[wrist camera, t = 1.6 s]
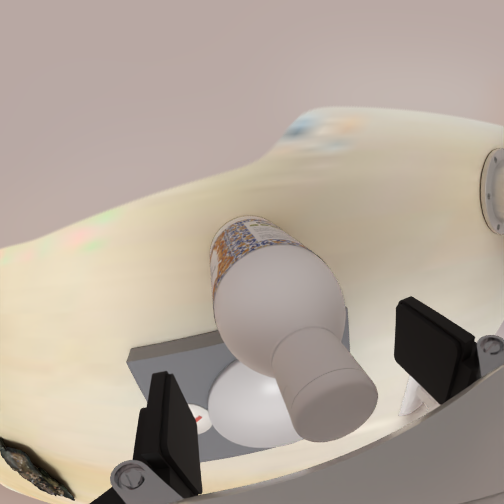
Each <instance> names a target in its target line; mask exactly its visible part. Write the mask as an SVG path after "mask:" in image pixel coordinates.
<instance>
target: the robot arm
mask: <svg viewBox="0 0 504 504" xmlns="http://www.w3.org/2000/svg"><path fill="white" fill-rule="evenodd" d="M481 203H482V209H483V214H484V217H485V220H486V222H487V224H488V226H489V228H490V229H491V230H492V231H494V232H495V233H499V234H504V149H503V148H498V149H495V150H493V151H492V152H491V153H490V154H489V156H488V158H487V160H486V162H485V165H484V168H483V172H482V179H481ZM474 339H475V336H473V335H472V334H470V333H469V332H467V331H466V330H464V329H463V328H461V327H460V326H458V325H457V324H455V323H453V322H452V321H450V320H449V319H447V318H446V317H444V316H443V315H441V314H439V313H438V312H436V311H435V310H433V309H431V308H430V307H428V306H427V305H425V304H423V303H422V302H420V301H419V300H417V299H415V298H414V297H412V296H411V297H408V298H405V299H403V300H401V301H399V303H398V306H397V307H396V329H395V348H394V358H395V360H396V362H397V363H398V364H399V365H400V366H401V367H402V368H403V369H404V370H405V371H406V372H407V373H408V374H409V375H410V376H411V377H412V378H413V379H414V380H415V381H416V382H417V383H418V384H419V385H420V386H421V387H423V388H424V389H425V390H426V391H427V392H428V393H429V394H430V395H431V396H432V397H433V398H434V399H435V400H436V401H437V402H438V403H439V404H440V406H439V407H437V408H435V409H434V410H432V411H431V412H429V413H427V414H426V415H424V416H422V417H420V418H419V419H417V420H415V421H413V422H412V423H410V424H408V425H406V426H404V427H403V428H401V429H399V430H397V431H395V432H393V433H391V434H389V435H387V436H385V437H383V438H381V439H379V440H377V441H375V442H373V443H371V444H368V445H366V446H364V447H362V448H359V449H357V450H355V451H353V452H350V453H348V454H345V455H343V456H340V457H338V458H335V459H333V460H330V461H327V462H325V463H322V464H319V465H316V466H314V467H311V468H308V469H305V470H302V471H298V472H295V473H292V474H289V475H285V476H282V477H278V478H274V479H271V480H267V481H263V482H259V483H255V484H251V485H247V486H242V487H238V488H233V489H228V490H223V491H218V492H213V493H208V494H203V495H198V494H202V482H201V471H200V459H199V445H198V430H197V423H196V420H195V418H194V416H193V414H192V412H191V410H190V408H189V406H188V404H187V402H186V400H185V398H184V395H183V393H182V391H181V389H180V387H179V385H178V383H177V381H176V378H175V376H174V375H173V374H169V373H168V372H167V371H163V372H157V373H153V374H152V377H151V383H150V389H149V396H148V402H147V408H142V409H141V410H140V414H139V420H138V426H137V433H136V439H135V446H134V454H133V460H129V461H124V462H122V463H120V464H119V465H118V466H116V467H115V468H114V470H113V471H112V473H111V477H110V481H111V485H112V487H111V488H110V489H109V490H107V491H106V492H105V493H103V494H102V495H101V496H99V497H98V498H97V499H95V500H94V501H93V502H91V503H90V504H504V340H503V338H501V337H499V336H495V335H487V336H484V337H481V338H480V339H479V340H478V342H477V343H476V342H474Z"/></svg>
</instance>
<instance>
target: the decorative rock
mask: <svg viewBox="0 0 504 504" xmlns="http://www.w3.org/2000/svg"><path fill="white" fill-rule="evenodd" d="M0 452H1V456H2V458H4V459H5V461H6V462H7V464H8V465H9V466H10V467H11V468H12V470H14V471H17V472H18V473H19V474H20V475H21V476H22V477H23V478H25V479H27V480H28V481H30V482H31V483H33V484H34V485H35V486H36V487H38V489H40V490H42V491H45V492H47V493H48V494H51V495H55V496H56V495H59V496H64V497H66V498H70V499H71V500H74V501H75V499H74V497H73V496H72V494H70V493H69V492H68V490H67V488H66V487H64V485H62V484H59V483H58V482H57V481H56V480H55V479H52V478H51V477H50V476H49V475H48V473H47V472H46V471H45V470H43V469H42V468H39V467H38V469H37V468H36V467H35V466H34V464H32V463H31V461H30V458H29V456H27V454H26V453H25V452H23V451H22V450H17V449H15V448H10V447H6V448H5V446H4V442H3V440H2V438H1V437H0Z"/></svg>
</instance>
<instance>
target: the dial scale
mask: <svg viewBox="0 0 504 504" xmlns="http://www.w3.org/2000/svg"><path fill="white" fill-rule="evenodd" d="M345 311H346V319H345V328H344V333H343V337H342V340H341V343H342V344H343V345H344V346H345V347H346V349H347V350H348V351H349V352H350V344H349V325H348V310H347V307H346V306H345ZM126 363H127V365H128V367H129V369H130V371H131V373H132V375H133V377H134V378H135V380H136V382H137V384H138V386H139V388H140V390H141V392H142V393H143V395H144V397H145V399H146V400H147V402H148V396H149V389H150V383H151V377H152V374H153V373H157V372H163V371H167V372H168V373H169V374H173V375H174V376H175V378H176V381H177V383H178V385H179V387H180V389H181V391H182V393H183V395H184V398H185V400H186V402H187V404H188V406H189V408H190V410H191V412H192V414H193V416H194V418H195V420H196V423H197V430H198V445H199V459H200V462H206V461H212V460H219V459H224V458H230V457H235V456H240V455H245V454H250V453H254V452H258V451H263V450H267V449H271V448H275V447H279V446H284V445H288V444H292V443H295V442H298V441H300V440H303V438H302V437H300V436H299V435H298V434H297V432H296V431H295V429H294V427H293V425H292V422H291V418H290V416H289V413H288V410H287V408H286V405H285V403H284V400H283V398H282V395H281V393H280V390H279V387H278V385H277V382H276V379H275V378H271V377H268V376H265V375H262V374H260V373H258V372H255V371H253V370H252V369H250V368H248V367H247V366H245V365H244V364H243V363H241V362H240V361H239V360H238V359H237V358H236V357H235V356H234V355H233V354H232V353H231V352H230V350H229V349H228V348H227V346H226V345H225V343H224V341H223V339H222V337H221V335H220V333H219V330H218V331H214V332H210V333H206V334H201V335H197V336H192V337H188V338H183V339H178V340H174V341H169V342H164V343H159V344H154V345H149V346H143V347H138V348H133V349H131V350H130V353H129V356H128V359H127V362H126Z"/></svg>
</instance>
